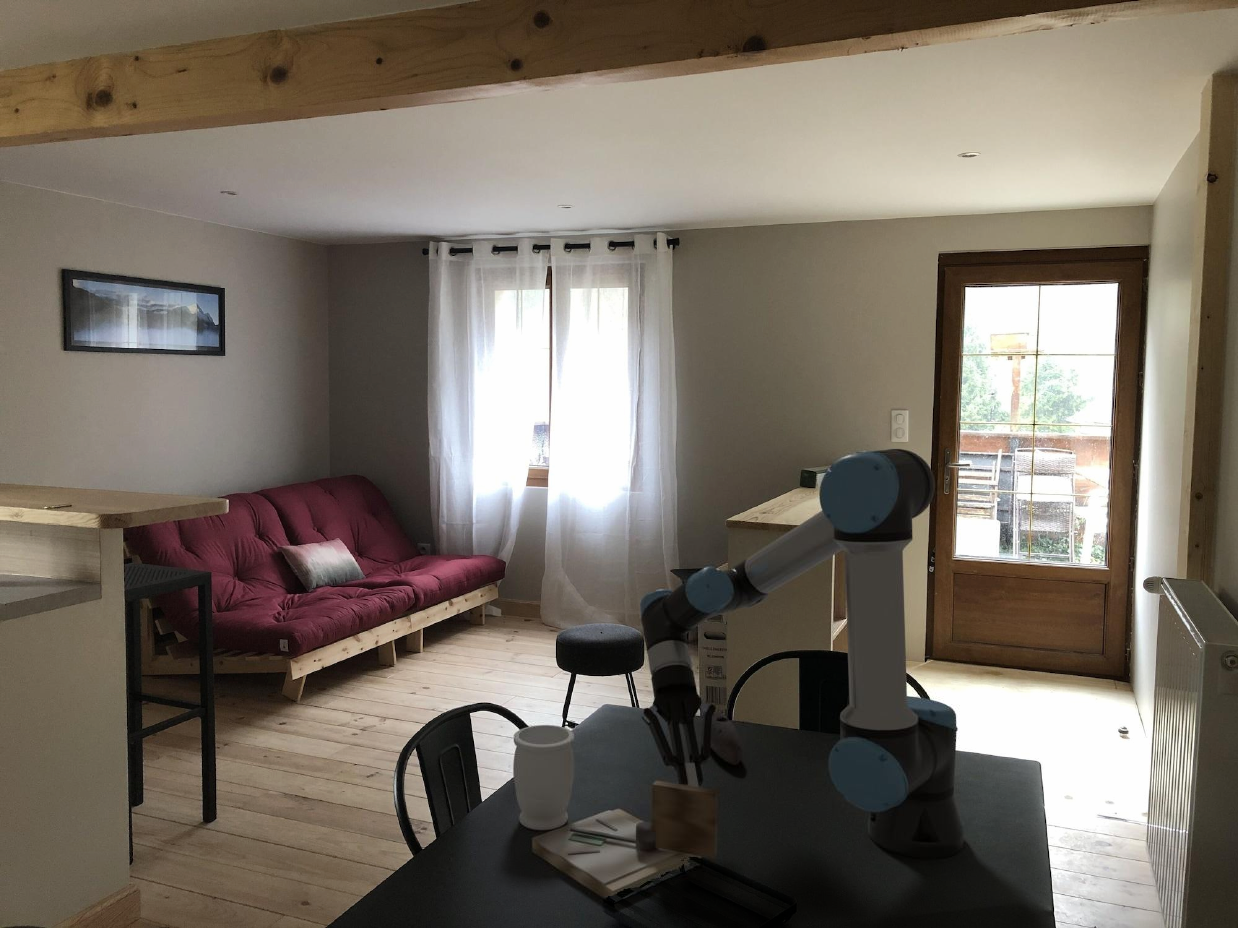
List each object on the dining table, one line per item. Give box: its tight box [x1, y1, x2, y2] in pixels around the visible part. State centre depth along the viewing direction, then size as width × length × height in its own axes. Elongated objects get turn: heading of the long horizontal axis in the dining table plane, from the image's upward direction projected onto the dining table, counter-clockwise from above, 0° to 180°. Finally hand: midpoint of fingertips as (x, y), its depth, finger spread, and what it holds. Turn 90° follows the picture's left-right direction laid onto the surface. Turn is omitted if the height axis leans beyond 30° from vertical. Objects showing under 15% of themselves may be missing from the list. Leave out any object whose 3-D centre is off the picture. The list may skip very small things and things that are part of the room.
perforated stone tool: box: [710, 712, 743, 766], centre depth 192 cm, size 15×5×7 cm, turn 11°
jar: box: [512, 724, 575, 831], centre depth 163 cm, size 11×10×15 cm
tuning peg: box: [570, 780, 719, 859], centre depth 149 cm, size 24×4×10 cm, turn 70°
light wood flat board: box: [531, 808, 703, 900], centre depth 150 cm, size 20×18×2 cm
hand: (695, 805), depth 153 cm, fingers closed
